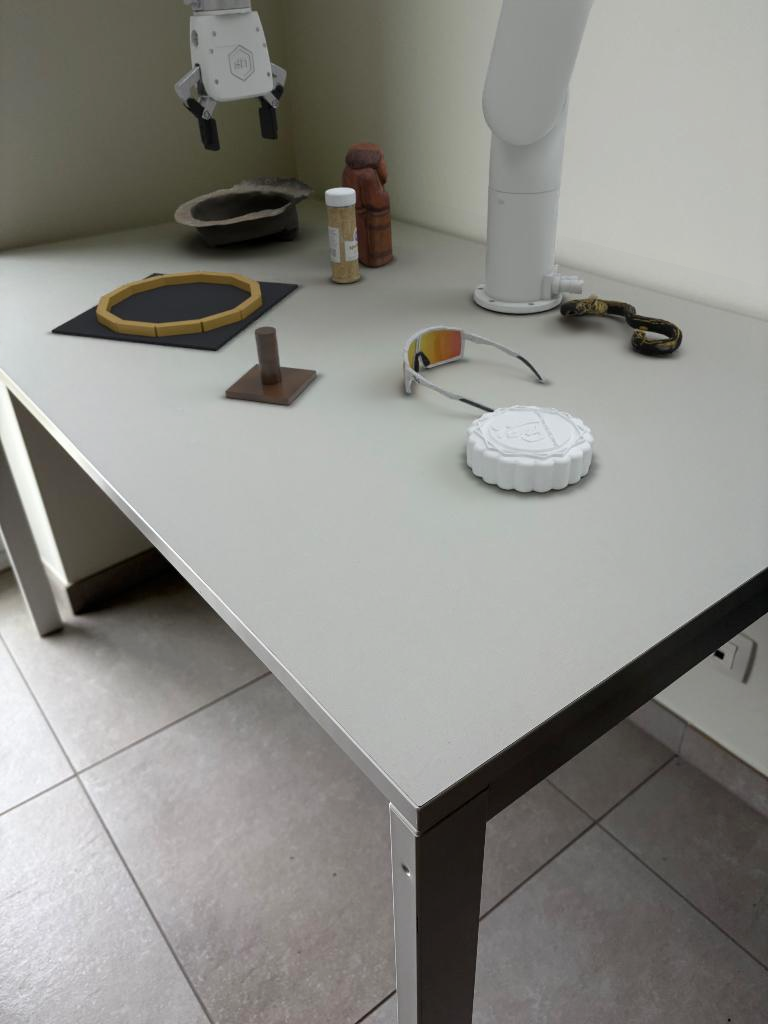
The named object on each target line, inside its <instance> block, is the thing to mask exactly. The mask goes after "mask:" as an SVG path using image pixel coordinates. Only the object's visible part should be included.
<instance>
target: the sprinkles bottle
mask: <svg viewBox="0 0 768 1024" xmlns="http://www.w3.org/2000/svg"><path fill="white" fill-rule="evenodd" d="M324 198H325V199H324V200H325V205H326V208H327V210H326V212H327V224H328V225H327V229H328V242H329V243H328V245H329V256H330V261H331V280H332V281H333V282H335V283H338V284H350V283H353V282H356V281H358V280H360V278H361V274H360V268H359V260H358V244H357V228H356V217H355V203H356V195H355V190H354V189H351V188H342V187H334V188H329V189H327V190H325V192H324Z"/></svg>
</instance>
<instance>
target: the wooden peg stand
mask: <svg viewBox="0 0 768 1024" xmlns="http://www.w3.org/2000/svg"><path fill="white" fill-rule="evenodd" d="M254 337H255V345H256V352H257V353H256V354H257V360H258V363H256V364H254V365H253V367H251V368H250V369H249V370H248V371H247V372H246V373H244V374H243V375H242V376H241V377H240V378H239V379H237V380H236V381H235V382H234V383H232V385H230V386H229V388H226V390H225V397H226V398H231V399H237V400H246V401H252V402H260V403H269V404H277V405H285V406H290V405H291V404H292V403H293V401H295V399H297V397H299V395H300V394H301V393H303V391H304V390H305V389H306V388H307V387H308V386H309V385H310V384H311V383H312V382H313V381H314V380H315V378H317V370H315V369H306V368H296V367H287V366H281V361H280V352H279V345H278V336H277V329H276V328H275V327H274V326H260V327H258V328H257V327H256V328H255V329H254Z"/></svg>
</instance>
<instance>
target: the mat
mask: <svg viewBox="0 0 768 1024" xmlns="http://www.w3.org/2000/svg"><path fill="white" fill-rule="evenodd" d="M164 274H165V273H159V272H153V273H152V274H150V275H148V276H146V277H143V279H147V278H151V277H155V276H159V275H161V276H163V275H164ZM255 281H256V282H258V283H259V286H260V291H261V296H262V306H260V307H259V308H258V309H256V310H255V311H254V312H253V313H251V314H250V315H249V316H247V317H246V318H245V319H243V320H242V319H241V321H238V322H235V323H232V324H228V325H225V326H222V327H219V328H215V329H212V330H209V331H206V332H204V331H202V332H201V333H192V334H182V335H172V336H163V337H158V336H156V337H151V336H141V335H132V334H123V333H118V332H115V331H113V330H112V329H110V328H108V327H107V326H105V325H103V324H102V323H100V322H99V321H98V318H97V314H96V310H97V307H98V304H95V305H94V306H93V307H91V308H89V309H87V310H86V311H83V312H81V313H80V314H78V315H76V316H75V317H72V318H71V319H69V320H67V321H66V322H64V323H62V324H59V325H58V326H56V327H54V328H53V329H52V330H51V333H52V334H58V335H66V336H67V335H68V336H77V337H84V338H85V337H87V338H94V339H105V340H113V341H123V342H132V343H141V344H149V345H150V344H151V345H159V346H169V347H178V348H187V349H196V350H205V351H215V352H216V351H218V350H220V348H221V347H223V346H224V345H225V344H227V343H228V342H229V341H231V340H232V339H233V338H235V337H236V336H237V335H238V334H240V333H241V332H242V331H244V330H245V329H246V328H248V326H250V325H252V323H253V322H255V321H256V320H258V319H259V318H260V317H261V316H262V315H264V314H265V313H267V312H268V311H269V310H271V309H272V308H273V307H274V306H276V305H277V304H278V303H279V302H281V301H282V300H283V299H284V298H286V297H287V296H288V295H290V294H291V293H292V292H293V291H295V290H296V289H298V287H299V284H297V283H287V282H286V283H285V282H284V283H283V282H272V281H259V280H255ZM250 297H251V293H250V292H248V291H245V290H243V289H240V288H238V287H236V286H233V285H228V284H215V283H203V282H199V283H189V284H178V285H168V286H162V287H159V288H155V289H151V290H147V291H144V292H140V293H136V294H133V295H131V296H129V297H128V298H126V299H124V300H122V301H121V302H119V303H117V304H115V305H114V306H112V307H111V311H110V313H111V314H113V315H115V316H117V317H118V318H120V319H122V320H127V321H137V322H147V323H157V324H159V323H169V322H179V321H188V320H198V319H202V318H206V317H209V316H212V315H216V314H219V313H222V312H226V311H229V310H232V309H235V308H236V307H237V306H239V305H240V304H241V303H243V302H244V301H246V300H247V299H248V298H250Z"/></svg>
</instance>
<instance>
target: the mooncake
mask: <svg viewBox="0 0 768 1024" xmlns="http://www.w3.org/2000/svg"><path fill="white" fill-rule="evenodd" d="M470 425H471V426H470V427H468V428H467V430H466V450H465V451H466V453H465V454H466V464H467V466H468V467H469V468H471V471H472V473H473V475H475V476H476V477H479V478H482V480H483V481H484V482H485V483H487V484H489V485H497V486H498V487H499V488H501V489H503V490H515V491H517V492H520V493H530V492H537V493H547V492H549V491H550V490H563V489H564V488H566V487H567V486H568V485H574V484H578V482H580V480H581V477H585V476H586V475H587V474H588V473H589V467H590V466H591V464H592V458H593V457H592V456H593V449H594V441H595V438H594V437H593V435H592V430H591V428H590V427H589V426H587V425H585V424H584V422H583V420H581V419H580V418H578V417H573V416H572V414H570V412H566V411H559V410H557V409H556V408H554V407H539V406H537V405H528V406H525V405H519V404H516V405H513V406H510V407H498V408H496V410H494V411H493V412H489V413H488V412H484V413H482V415H481V416H480V417H479V418H475V419H474V420H473V421H472V422H471V424H470Z"/></svg>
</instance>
